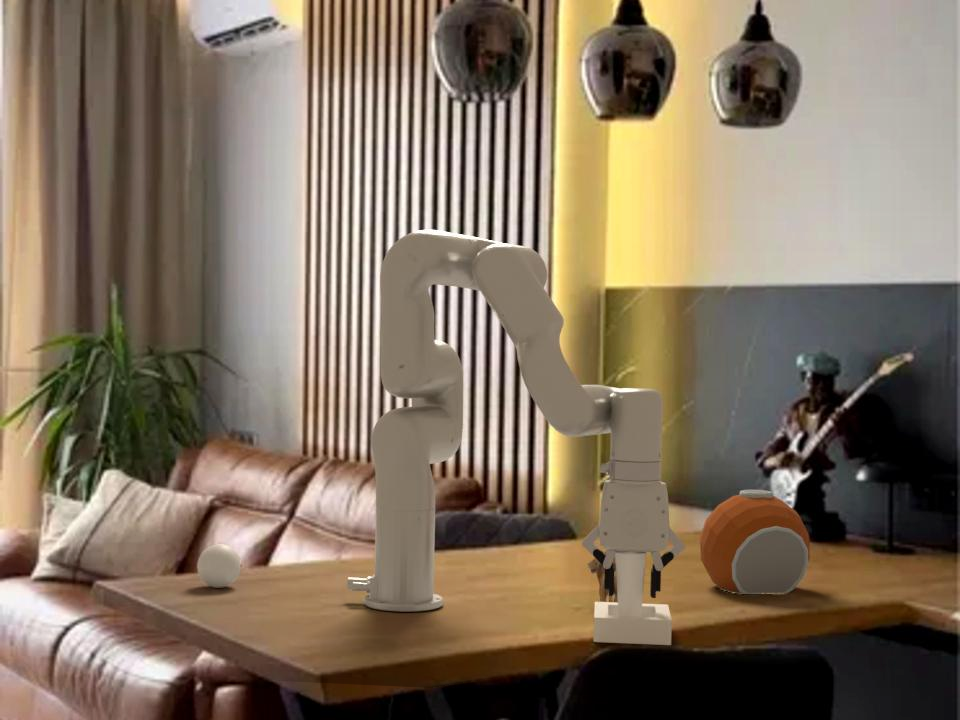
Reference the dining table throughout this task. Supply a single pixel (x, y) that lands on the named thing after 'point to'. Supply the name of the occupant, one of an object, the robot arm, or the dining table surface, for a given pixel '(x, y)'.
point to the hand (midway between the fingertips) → (632, 594)
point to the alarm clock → (755, 544)
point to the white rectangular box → (632, 625)
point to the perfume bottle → (630, 581)
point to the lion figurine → (600, 570)
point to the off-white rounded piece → (219, 565)
